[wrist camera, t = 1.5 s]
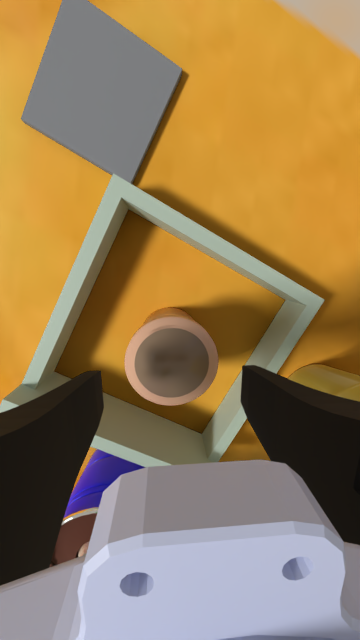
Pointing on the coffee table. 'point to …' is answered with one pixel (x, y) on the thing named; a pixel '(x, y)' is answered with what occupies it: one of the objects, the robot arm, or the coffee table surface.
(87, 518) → the hyacinth
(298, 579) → the robot arm
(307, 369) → the plant pot
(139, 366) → the terracotta pot
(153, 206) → the frame
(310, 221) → the coffee table surface
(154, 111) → the slate pad
